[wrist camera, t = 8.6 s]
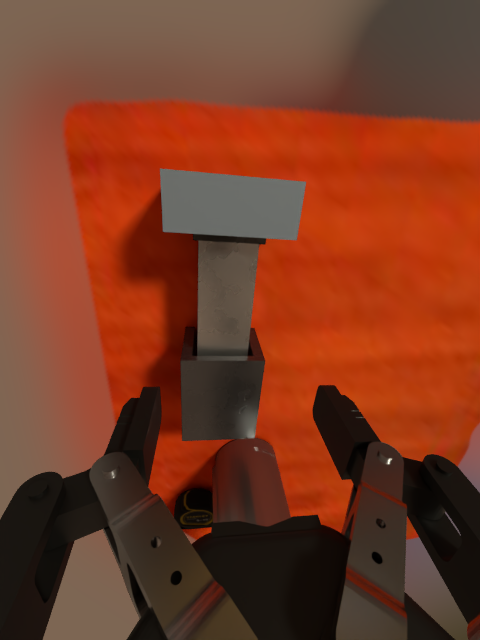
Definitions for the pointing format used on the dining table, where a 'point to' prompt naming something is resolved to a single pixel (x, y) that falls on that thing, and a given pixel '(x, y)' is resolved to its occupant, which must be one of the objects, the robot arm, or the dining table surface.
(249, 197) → the grey block
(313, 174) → the dining table surface
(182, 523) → the tape measure
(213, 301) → the light grey square bar
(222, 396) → the sleeve
